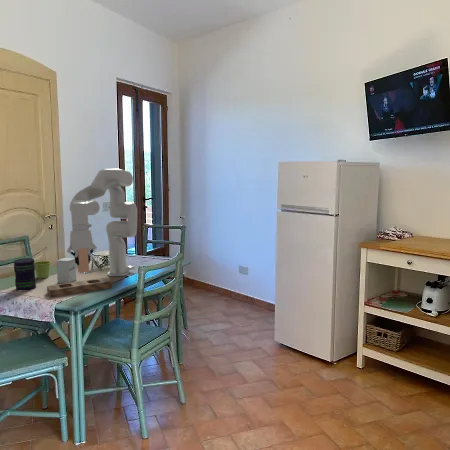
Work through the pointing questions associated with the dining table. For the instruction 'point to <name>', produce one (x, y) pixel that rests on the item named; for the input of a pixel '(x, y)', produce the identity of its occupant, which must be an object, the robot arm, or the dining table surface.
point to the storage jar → (25, 274)
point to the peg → (83, 260)
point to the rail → (78, 287)
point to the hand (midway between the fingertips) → (83, 263)
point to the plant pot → (42, 269)
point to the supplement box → (66, 270)
